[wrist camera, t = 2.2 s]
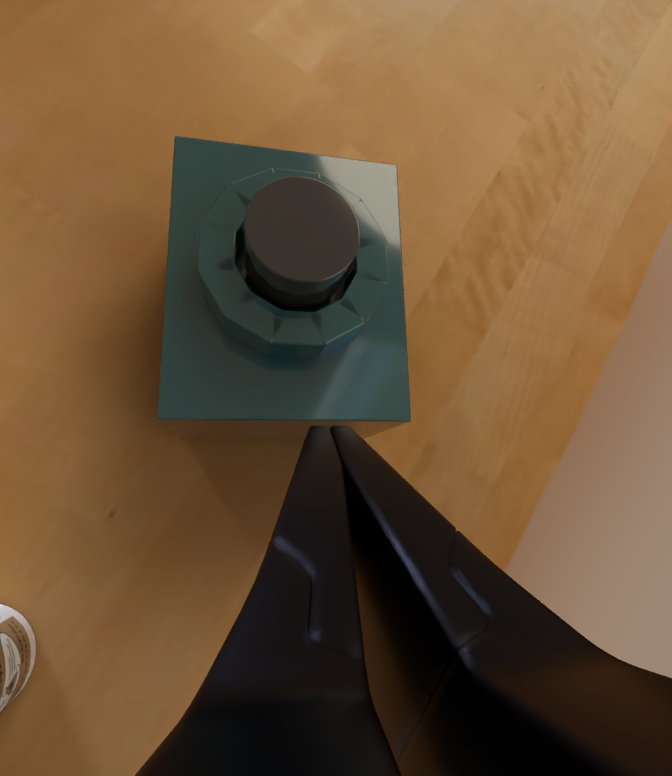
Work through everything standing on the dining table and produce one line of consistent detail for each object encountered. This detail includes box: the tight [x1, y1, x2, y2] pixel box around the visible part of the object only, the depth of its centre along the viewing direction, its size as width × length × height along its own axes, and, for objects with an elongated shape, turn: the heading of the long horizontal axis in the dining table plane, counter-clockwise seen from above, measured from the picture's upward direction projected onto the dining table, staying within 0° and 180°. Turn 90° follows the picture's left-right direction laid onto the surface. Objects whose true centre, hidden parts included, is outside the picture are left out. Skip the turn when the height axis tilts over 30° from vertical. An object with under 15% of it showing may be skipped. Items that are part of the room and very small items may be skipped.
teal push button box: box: [158, 136, 411, 440], centre depth 20 cm, size 11×9×9 cm
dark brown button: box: [244, 176, 360, 307], centre depth 15 cm, size 4×4×2 cm
